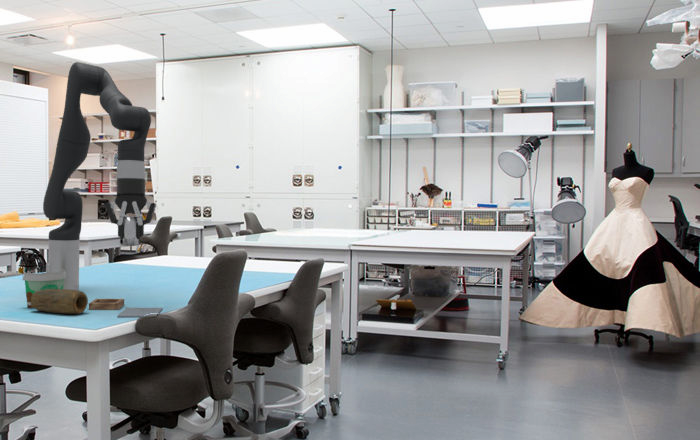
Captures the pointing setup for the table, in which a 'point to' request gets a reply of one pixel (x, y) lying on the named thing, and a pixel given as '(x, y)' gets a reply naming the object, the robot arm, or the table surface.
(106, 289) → the table surface
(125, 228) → the steel pin
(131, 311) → the mat
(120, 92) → the robot arm
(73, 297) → the brown wooden cylinder
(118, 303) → the socket
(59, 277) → the food container
